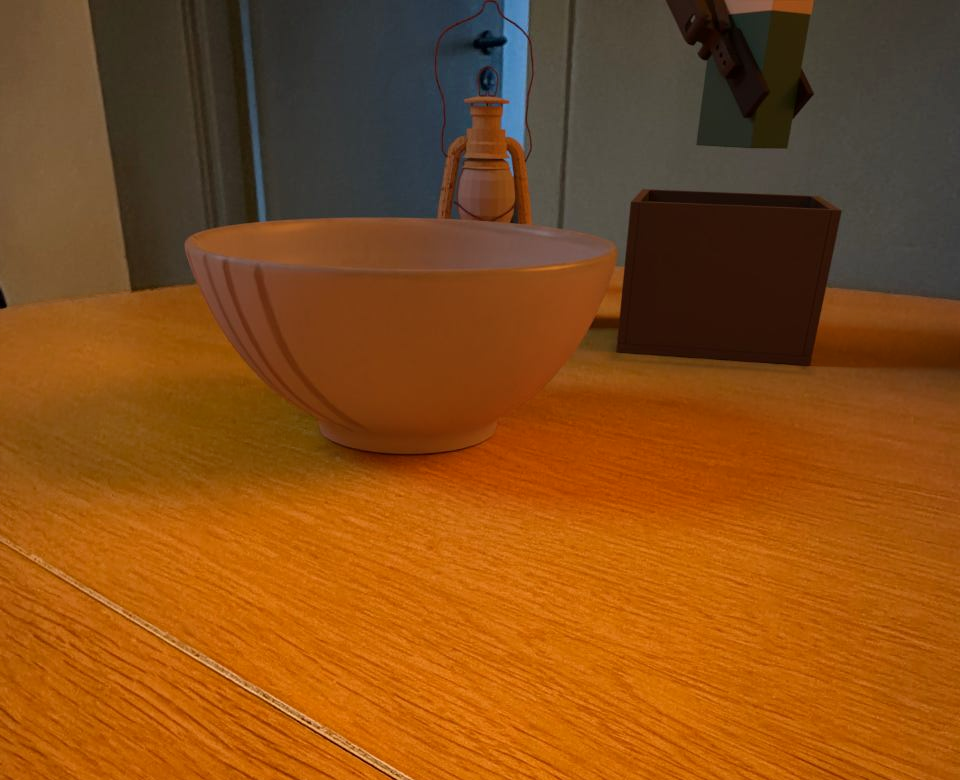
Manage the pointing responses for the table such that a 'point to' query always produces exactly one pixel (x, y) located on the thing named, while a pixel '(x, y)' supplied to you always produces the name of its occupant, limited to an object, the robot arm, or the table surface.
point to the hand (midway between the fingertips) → (778, 105)
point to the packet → (779, 54)
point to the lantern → (486, 161)
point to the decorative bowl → (402, 318)
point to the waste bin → (726, 275)
